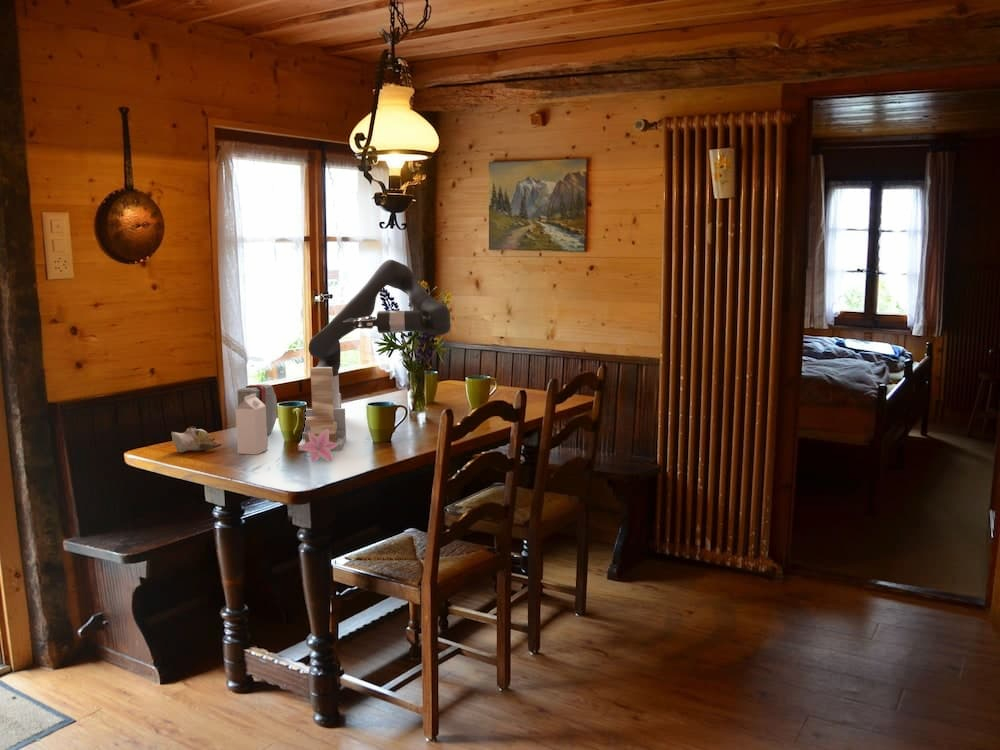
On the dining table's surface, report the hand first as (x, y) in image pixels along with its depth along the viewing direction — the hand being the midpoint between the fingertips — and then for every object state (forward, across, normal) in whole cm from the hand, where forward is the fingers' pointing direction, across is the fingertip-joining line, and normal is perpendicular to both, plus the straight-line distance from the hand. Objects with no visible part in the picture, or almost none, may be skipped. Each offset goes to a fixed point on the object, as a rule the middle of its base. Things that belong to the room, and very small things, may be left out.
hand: (343, 323), depth 297 cm
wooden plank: (+9, +1, +39) cm, 40 cm away
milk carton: (+30, +13, +40) cm, 52 cm away
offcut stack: (+9, +8, +39) cm, 40 cm away
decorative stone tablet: (+33, -8, +40) cm, 52 cm away
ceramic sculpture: (+50, +10, +40) cm, 65 cm away
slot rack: (+9, +4, +41) cm, 42 cm away
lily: (+7, +25, +41) cm, 49 cm away
